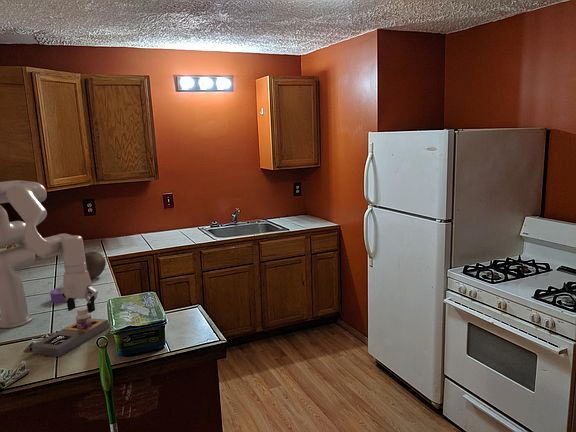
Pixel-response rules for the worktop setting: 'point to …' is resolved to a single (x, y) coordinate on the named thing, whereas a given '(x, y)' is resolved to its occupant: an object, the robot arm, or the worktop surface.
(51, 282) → the worktop surface
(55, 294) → the tape roll
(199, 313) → the worktop surface
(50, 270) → the worktop surface
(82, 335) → the hole rail
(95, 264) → the cantaloupe
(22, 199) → the robot arm
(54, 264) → the worktop surface
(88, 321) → the pill bottle
